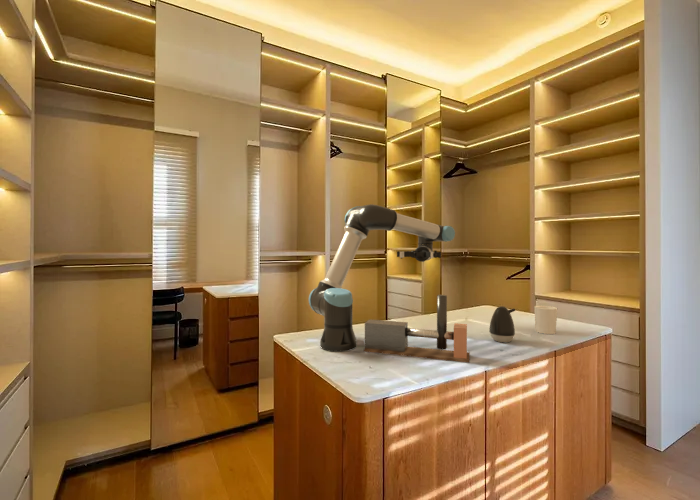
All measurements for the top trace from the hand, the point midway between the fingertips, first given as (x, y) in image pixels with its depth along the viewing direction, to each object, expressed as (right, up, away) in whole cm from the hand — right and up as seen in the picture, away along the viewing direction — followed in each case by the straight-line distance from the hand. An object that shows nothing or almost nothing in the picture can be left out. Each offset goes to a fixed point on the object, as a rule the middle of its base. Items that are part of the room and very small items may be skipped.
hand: (415, 255), depth 154 cm
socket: (+12, -37, -24) cm, 46 cm away
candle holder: (+65, -37, +13) cm, 76 cm away
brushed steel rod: (+1, -35, -20) cm, 40 cm away
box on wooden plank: (-15, -37, -15) cm, 42 cm away
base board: (-3, -38, -18) cm, 42 cm away
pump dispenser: (+37, -38, -2) cm, 53 cm away
